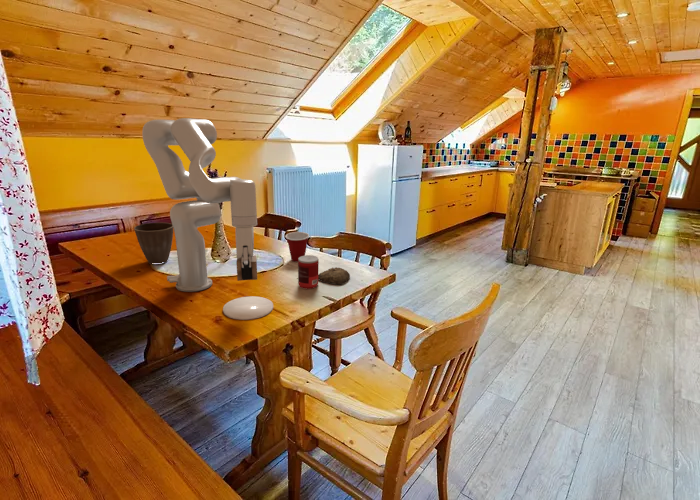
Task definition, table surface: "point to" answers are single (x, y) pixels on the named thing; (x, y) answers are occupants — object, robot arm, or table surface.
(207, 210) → the robot arm
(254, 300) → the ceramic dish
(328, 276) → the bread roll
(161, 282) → the table surface
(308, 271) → the canned food
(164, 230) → the plant pot
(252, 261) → the walnut block
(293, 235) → the plastic cup
